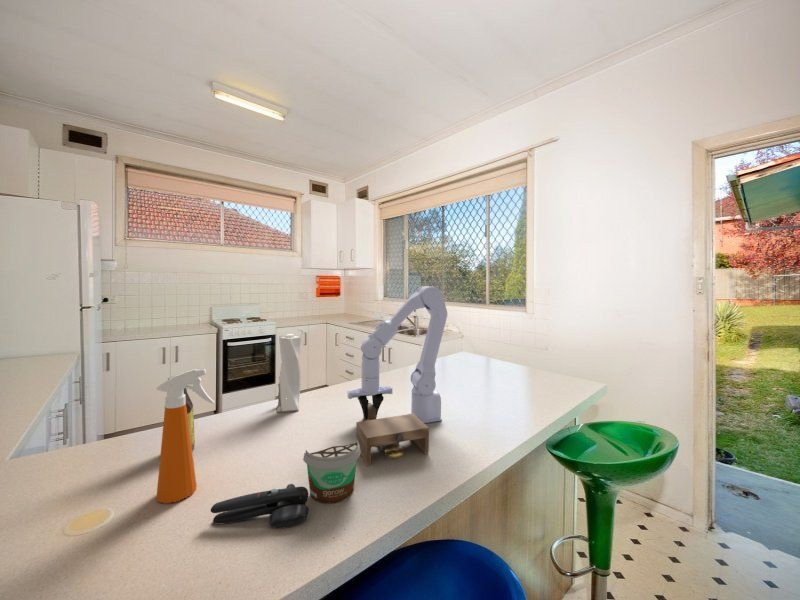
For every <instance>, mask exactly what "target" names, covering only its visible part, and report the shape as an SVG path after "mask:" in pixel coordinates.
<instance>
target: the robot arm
mask: <svg viewBox="0 0 800 600" xmlns="http://www.w3.org/2000/svg"><path fill="white" fill-rule="evenodd" d="M423 308H425V309H426V311H427V313H428V314H429V315H430V319H429V323H428V327H427V330H426V334H425V338H424V342H423V347H422V351H421V354H420V358H419V361H418V362H417V364H416V365H415V369H414V370H413V372H412V373H411V375H410V382H411V384H412V386H413V387H412V389H411V409H410V411H411V413H410V414H414V415H415V416H416V417H418V418H419V419H420V420H421V421H422V422H423V423H424V424H428V423H434V422H439V421H440V422H441V421H443V418H442V397H441V394H440V393H439V392H438V390H435V389H436V386H437V385H436V374H437V373H436V367H435V366H436V362H437V357H438V355H439V351H440V346H441V343H442V342H441V341H442V338H443V334H444V329H445V325H446V323H447V318H448V310H447V307H446V302H445V296H444V294H443V293H442V291H441V290H440V289H439V288H438V287H437V286H433V285H431V286H428V285H423V286H420V287H419V288H417V290H416V291H415V292H414V293H412V294H411V295H410V296H409V298H408V299H406V301H405V302H404V303H403V304H402V305H401V307H400V308H399V309H398V310H397V311H396V312H395V314H394V315H393V316H392V317H391V318H390V319H388V320H387V319H386V320H383V321H382V322H381V321H380V322H379V323H378V324H377V325H378V327H377V328H376V329H375V330H374V331H373V332H372V333H369V334H368V336H367V337H368V338H366V339H364V340H363V341H362V343H361V346H360V349H361V353H362V355H361V388H357V389H353V390H347V398H348V399H349V400H351V399H353V398H357V400H358V402H359V404H360V407H361V410H362V415H363V416H364V418H363V420H364V419H365V420H366V419H368V403H370V402H369V399H368V397H372V399H371V400H372V405H373V406H374V407H375V408H376V419H378V418H377V417H378V413H379V409H380V406H381V405H382V403H383V401H384V399H385V398H384V396H383V395H388V394H389V395H393V387H392V386H380V369H381V368H380V366H381V365H380V363H381V362H380V356H381V354H382V349H383V348H384V347H385V346H386V345H388V344H389V342H391V340H392V339H393V338H395V336H396V334H398V327H399V326H400V325H401V324H402V323H403V322H404V321H405V320H406V319H407V318H408V317H410V316H411V314H412V313H413V312H414V311H415V310H420V309H423ZM365 420H364V421H365Z"/></svg>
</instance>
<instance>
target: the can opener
mask: <svg viewBox="0 0 800 600" xmlns="http://www.w3.org/2000/svg"><path fill="white" fill-rule="evenodd" d="M309 496H310V493H309V490H308V488H307V487H305V486H295V484H293V483H289V484H287V485H286V487H285V488H279V489H278V488H272V489H271V490H265V491H257V492H253V493H248V494H245V495H239V496H236V497H232V498H228V499H226V500H222V501H219V502H216V503H214V504H213V505H212V506H211V507H210V512H211V514H216V515H214V517H213V518H212V521H213V522H214V523H225V524H231V523H230V522H233V523H238V522H241V521H245V520H250V519H254V518H257V517H261V516H265V515H266V516H267V515H269V526H270V527H271V528H273V527H275V528H274V529H284V528H283V527H285V528H290V527H293V526H296V525H299V524H301V523H303V522H304V521H306V519H307V518H308V515H309V510H310V509H309V508H310V507H308V506H307V505H306V504H307V502H308V499H309ZM237 521H238V522H237ZM213 522H212V523H213ZM214 523H213V524H214Z"/></svg>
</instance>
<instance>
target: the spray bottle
mask: <svg viewBox="0 0 800 600" xmlns="http://www.w3.org/2000/svg"><path fill="white" fill-rule="evenodd" d="M204 375H207V371H206V368H199V369H198V368H194V369H190V370H187V371H184V372H182V373H180V374H177V375H173V376H174V377H172V376H171V377H172V378H170V379H169V380H168V379H167V380H166V381H163V383H161V384H160V385H158V386H157V387H156V390H157V391H159V392H164V393H166V397H164V415H163V426H162V434H161V436H162V437H161V443H160V445H161V447H160V455H159V466H158V475H157V476H158V478H157V488H156V500H157V502H158V503H161V502H163V503H162V504H172V503H171V502H174V503H177V502H176V501H178V502H180V500H181V501H183V500H185V499H184V498H186V499H188V498H189V497H190V496H192V495H193V494H195V492H194V491H196V490H197V477H196V470H195V461H194V455H193V450H192V446H191V439H190V431H189V424H188V416H187V408H186V396H185V394H184V389H185V388H186V389H187V390H192V392H193V393H195V394H196V395H198V396H199V397H200V398H201V399H203V400H204V401H206V402H208V403H210V404H213V405H214V403H215V402H216V401H214V399H212V398H211V397H210V395H208V392H206V390H205V389H204V387H203V386H202V378H200V377H202V376H204ZM191 494H192V495H191ZM188 496H189V497H188ZM182 499H183V500H182Z"/></svg>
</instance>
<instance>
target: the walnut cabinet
mask: <svg viewBox="0 0 800 600" xmlns="http://www.w3.org/2000/svg"><path fill="white" fill-rule="evenodd" d="M355 423H356V427H355V428H356V431H355V433H356V437H355V438H356V439H357V440H358V443H359V446H360V451H361V453H360V456H361V459H362V460H363V462H364V463H365V465H366V467H368V466H371V465H372V448H375V447H379V446H381V445H387V444H392V443H398V442H399V443H403V442H408V441H412V442H413V443H414V444H415V445H416V446H417V447H418V448H419V449H420V450H421V451H422V452H423V453H424V455H426V454H429V452H430V451H429V448H430V445H429V443H430V427H429V426H428V425H427V423H423V422H422V421H421V420H420V419H419V418H418V417H416V416H415V415H414V414H411V413H407V414H402V415H396V416H395V415H393V416H387V417H382V418H376V419H374V420H367V421H365V420H362V421H357V422H355ZM356 439H355V440H356Z"/></svg>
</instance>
